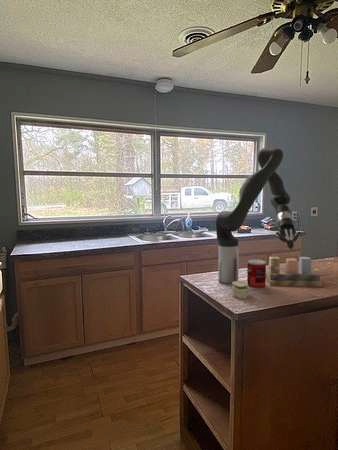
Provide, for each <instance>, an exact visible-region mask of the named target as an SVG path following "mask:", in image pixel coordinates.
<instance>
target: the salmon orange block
mask: <svg viewBox="0 0 338 450" xmlns="http://www.w3.org/2000/svg"><path fill="white" fill-rule="evenodd" d="M298 265H299V261H298V260H297V258H286V259H285V272H286V274H297V272H298V269H299V266H298Z"/></svg>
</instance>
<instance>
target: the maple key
mask: <svg viewBox="0 0 338 450" xmlns="http://www.w3.org/2000/svg"><path fill="white" fill-rule="evenodd" d="M268 259H269V260H268V272H269V273H270V274H279V273H280V272H281V271H280V269H281V268H280V262H281V258H279V257H278V256H269V257H268Z"/></svg>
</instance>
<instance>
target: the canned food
mask: <svg viewBox="0 0 338 450" xmlns="http://www.w3.org/2000/svg"><path fill="white" fill-rule="evenodd" d="M246 263H247V270H246V273H247V279H246V280H247V281H246V283H247V285H248V286H249V287H250V288H255V289H262V288H265V287H266V281H267V280H266V272H267V262H266V260H265V261H264V260H262V259H249V260H247V261H246Z"/></svg>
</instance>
